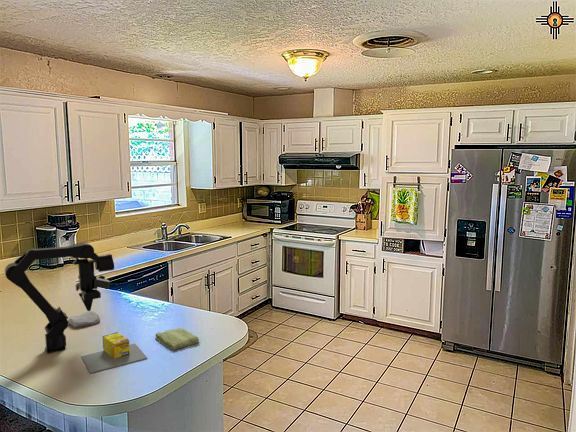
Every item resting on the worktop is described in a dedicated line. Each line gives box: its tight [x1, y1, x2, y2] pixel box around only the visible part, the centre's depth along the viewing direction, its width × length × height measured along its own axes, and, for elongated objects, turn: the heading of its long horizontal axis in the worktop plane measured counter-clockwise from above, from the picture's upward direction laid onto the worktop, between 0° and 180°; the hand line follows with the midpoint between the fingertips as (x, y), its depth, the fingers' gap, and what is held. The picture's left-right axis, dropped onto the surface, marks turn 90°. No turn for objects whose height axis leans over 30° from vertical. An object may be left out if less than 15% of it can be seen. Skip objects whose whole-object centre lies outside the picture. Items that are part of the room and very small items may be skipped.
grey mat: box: [81, 343, 148, 374], centre depth 164 cm, size 20×16×1 cm
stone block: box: [67, 310, 101, 328], centre depth 200 cm, size 12×5×10 cm
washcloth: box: [154, 327, 200, 351], centre depth 180 cm, size 13×18×3 cm
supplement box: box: [102, 331, 130, 359], centre depth 168 cm, size 6×6×11 cm
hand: (88, 310), depth 178 cm, fingers closed
